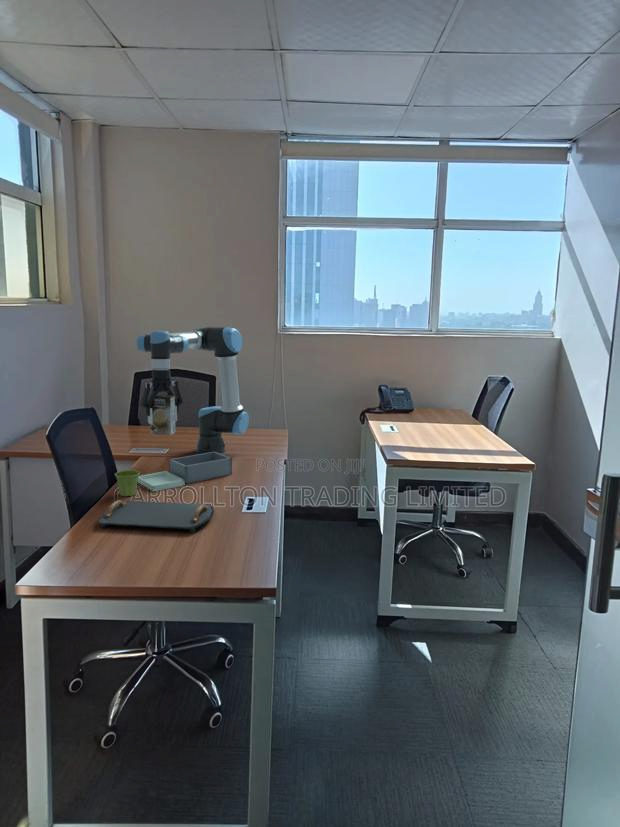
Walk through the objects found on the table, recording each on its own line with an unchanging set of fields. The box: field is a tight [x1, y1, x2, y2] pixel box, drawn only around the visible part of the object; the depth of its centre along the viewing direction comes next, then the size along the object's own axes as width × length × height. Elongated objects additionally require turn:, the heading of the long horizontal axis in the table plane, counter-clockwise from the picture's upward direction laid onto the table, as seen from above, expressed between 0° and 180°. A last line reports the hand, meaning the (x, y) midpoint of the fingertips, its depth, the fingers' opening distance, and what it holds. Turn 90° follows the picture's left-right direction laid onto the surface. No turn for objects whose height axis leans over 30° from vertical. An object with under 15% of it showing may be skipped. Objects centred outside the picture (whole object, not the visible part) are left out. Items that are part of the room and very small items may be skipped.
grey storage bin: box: [168, 452, 233, 484], centre depth 253 cm, size 23×15×8 cm, turn 130°
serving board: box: [97, 499, 215, 534], centre depth 199 cm, size 39×23×6 cm, turn 83°
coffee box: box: [149, 393, 176, 436], centre depth 236 cm, size 9×6×16 cm
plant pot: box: [114, 469, 141, 497], centre depth 226 cm, size 9×9×9 cm
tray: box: [137, 470, 186, 493], centre depth 240 cm, size 14×17×2 cm
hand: (162, 422), depth 237 cm, fingers closed on coffee box, 10 cm apart
